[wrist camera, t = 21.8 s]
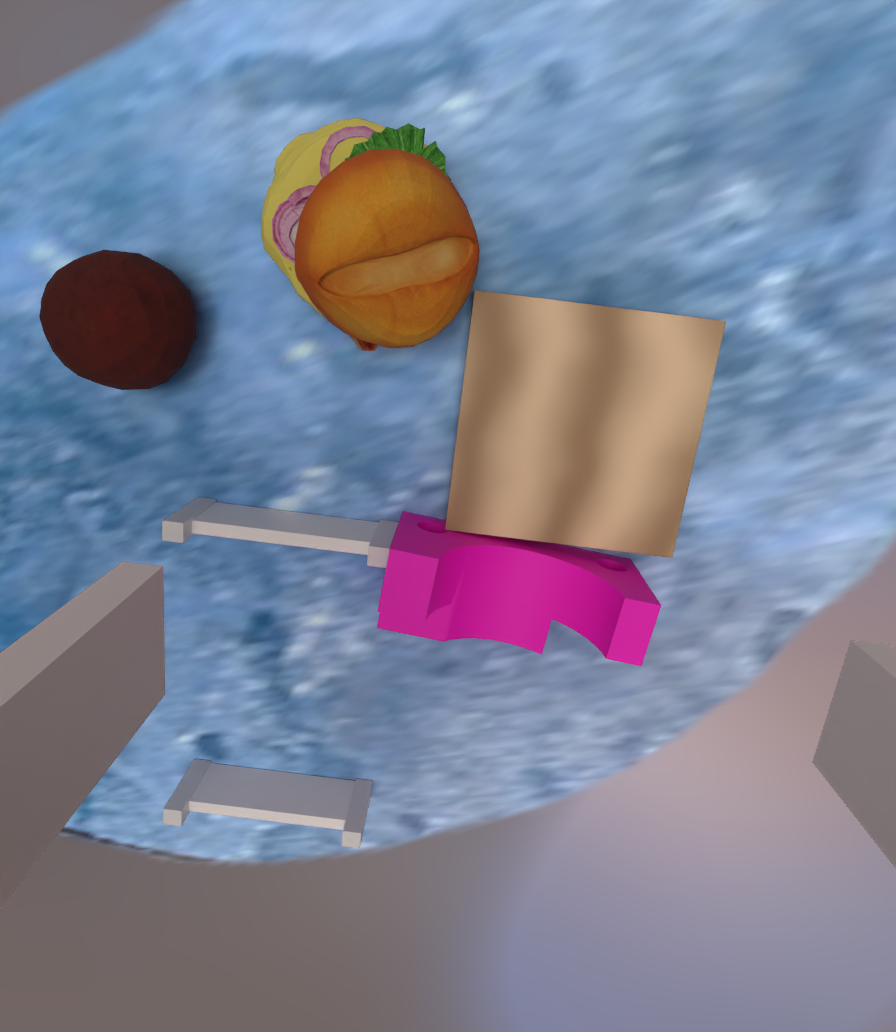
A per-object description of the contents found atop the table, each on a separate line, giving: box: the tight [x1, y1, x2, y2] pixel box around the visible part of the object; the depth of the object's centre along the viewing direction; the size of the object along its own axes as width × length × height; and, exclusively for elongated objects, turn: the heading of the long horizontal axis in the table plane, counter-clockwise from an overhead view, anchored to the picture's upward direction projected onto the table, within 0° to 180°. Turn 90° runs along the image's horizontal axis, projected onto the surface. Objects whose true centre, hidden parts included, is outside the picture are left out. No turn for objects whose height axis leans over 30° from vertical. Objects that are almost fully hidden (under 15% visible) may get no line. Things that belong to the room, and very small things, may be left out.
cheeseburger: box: [261, 118, 479, 351], centre depth 34 cm, size 10×11×10 cm
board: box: [445, 290, 726, 558], centre depth 40 cm, size 14×14×2 cm
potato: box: [40, 250, 197, 390], centre depth 37 cm, size 7×8×7 cm
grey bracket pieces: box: [162, 497, 399, 848], centre depth 44 cm, size 13×21×5 cm, turn 173°
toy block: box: [377, 511, 661, 666], centre depth 41 cm, size 15×6×8 cm, turn 78°
